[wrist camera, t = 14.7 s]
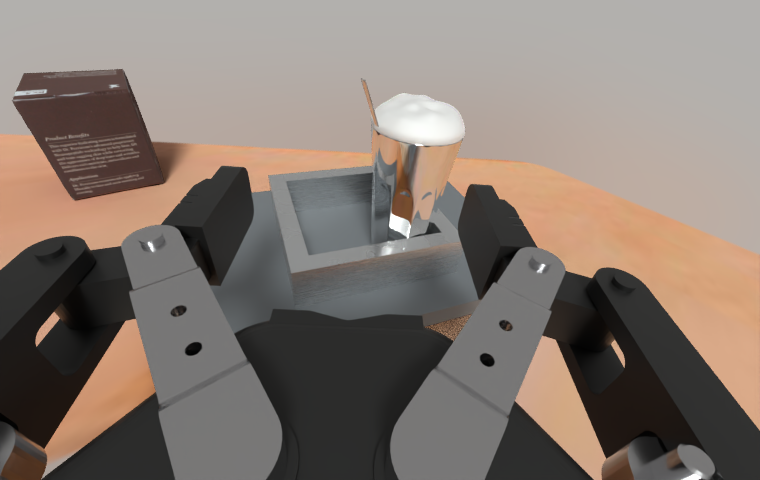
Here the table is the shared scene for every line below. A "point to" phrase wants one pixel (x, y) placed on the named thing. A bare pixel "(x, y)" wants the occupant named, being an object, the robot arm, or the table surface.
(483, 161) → the table surface
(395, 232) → the milkshake
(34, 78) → the box
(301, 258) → the dock
